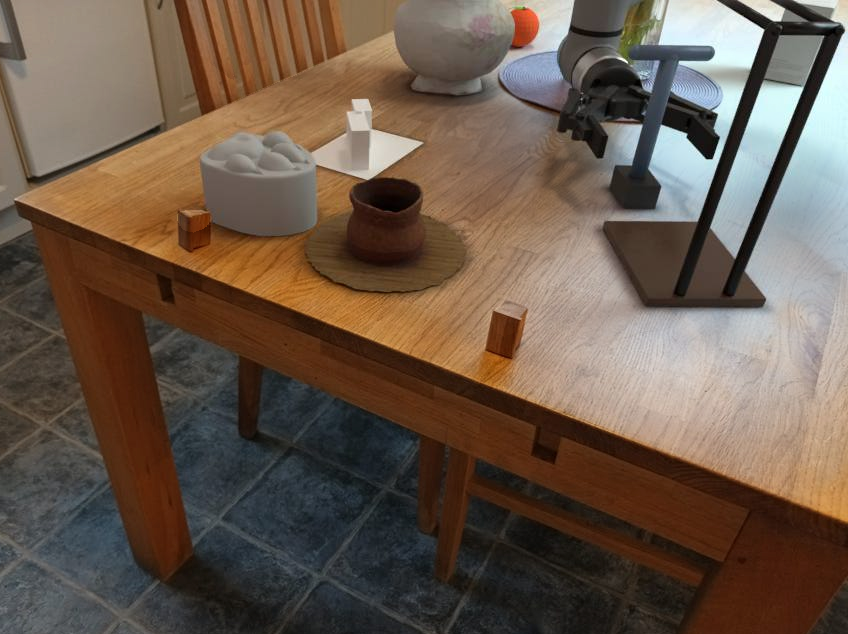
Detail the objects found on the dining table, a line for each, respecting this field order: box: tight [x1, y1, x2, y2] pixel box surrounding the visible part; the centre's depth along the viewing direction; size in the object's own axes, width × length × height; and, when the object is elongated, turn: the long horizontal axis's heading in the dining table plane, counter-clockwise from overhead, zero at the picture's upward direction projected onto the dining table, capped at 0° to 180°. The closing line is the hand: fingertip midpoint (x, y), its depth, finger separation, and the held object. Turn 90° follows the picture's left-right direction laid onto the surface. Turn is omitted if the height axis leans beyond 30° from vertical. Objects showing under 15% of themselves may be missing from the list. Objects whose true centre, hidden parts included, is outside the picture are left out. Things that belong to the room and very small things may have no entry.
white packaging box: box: [764, 0, 839, 86], centre depth 125 cm, size 7×7×13 cm
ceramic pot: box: [304, 176, 467, 293], centre depth 77 cm, size 18×18×7 cm
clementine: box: [509, 6, 540, 48], centre depth 139 cm, size 8×7×7 cm
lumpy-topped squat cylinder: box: [199, 130, 318, 237], centre depth 83 cm, size 10×13×9 cm
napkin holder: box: [310, 98, 424, 181], centre depth 98 cm, size 15×11×6 cm
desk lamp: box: [602, 0, 846, 308], centre depth 70 cm, size 17×12×26 cm
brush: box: [609, 44, 716, 210], centre depth 85 cm, size 6×10×18 cm, turn 91°
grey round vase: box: [393, 0, 515, 96], centre depth 116 cm, size 22×20×25 cm
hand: (658, 148), depth 83 cm, fingers open, 12 cm apart
